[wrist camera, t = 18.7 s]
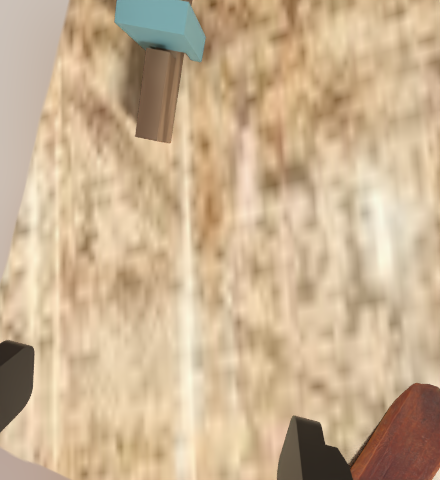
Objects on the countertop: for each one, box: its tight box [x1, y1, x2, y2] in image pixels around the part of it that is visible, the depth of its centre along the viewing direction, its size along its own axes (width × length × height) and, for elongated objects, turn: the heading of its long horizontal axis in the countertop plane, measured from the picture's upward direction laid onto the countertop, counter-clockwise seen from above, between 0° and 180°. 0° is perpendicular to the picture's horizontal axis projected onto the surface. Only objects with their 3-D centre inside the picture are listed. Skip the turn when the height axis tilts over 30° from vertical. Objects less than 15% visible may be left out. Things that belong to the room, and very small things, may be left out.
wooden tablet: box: [350, 383, 440, 480], centre depth 43 cm, size 27×10×2 cm, turn 158°
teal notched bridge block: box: [115, 0, 206, 62], centre depth 31 cm, size 6×2×8 cm, turn 79°
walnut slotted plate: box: [135, 0, 192, 143], centre depth 33 cm, size 2×20×5 cm, turn 169°
